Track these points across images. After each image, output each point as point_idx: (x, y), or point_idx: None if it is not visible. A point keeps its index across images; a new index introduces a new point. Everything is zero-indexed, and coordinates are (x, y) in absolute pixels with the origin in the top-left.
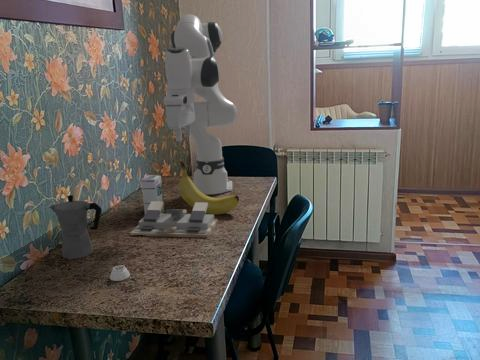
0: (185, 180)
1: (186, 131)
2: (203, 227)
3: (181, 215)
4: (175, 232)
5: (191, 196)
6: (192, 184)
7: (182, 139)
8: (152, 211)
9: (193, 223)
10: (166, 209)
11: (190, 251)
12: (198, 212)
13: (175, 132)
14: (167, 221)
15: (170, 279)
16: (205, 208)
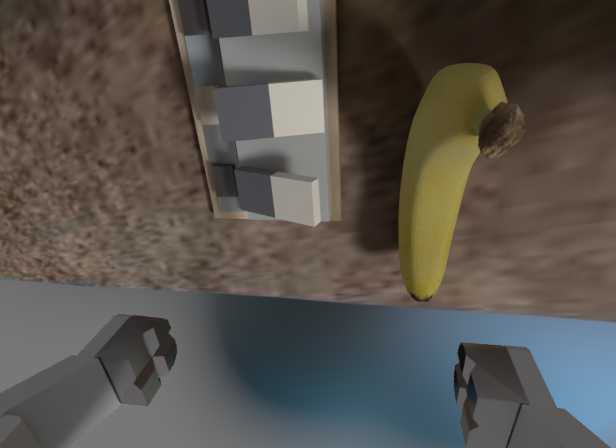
0: (445, 122)
1: (517, 426)
2: None
3: None
4: (203, 126)
5: (412, 136)
6: (450, 150)
7: (172, 365)
8: (240, 2)
9: None
10: (213, 91)
11: (133, 195)
12: (265, 197)
13: (4, 406)
14: (235, 83)
15: (14, 193)
16: (285, 219)
